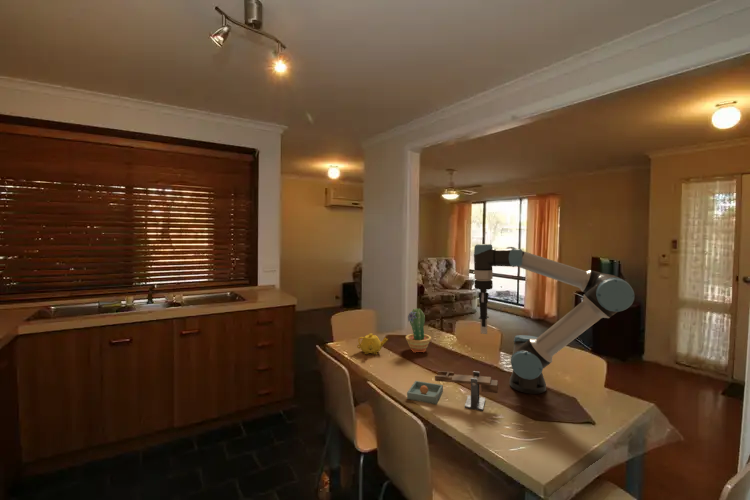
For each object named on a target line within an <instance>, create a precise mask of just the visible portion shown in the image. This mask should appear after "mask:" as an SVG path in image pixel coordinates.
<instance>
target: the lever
mask: <svg viewBox="0 0 750 500" xmlns="http://www.w3.org/2000/svg"><path fill="white" fill-rule="evenodd" d="M471 378H476V379H477V384H479V386H480V388H481V389H480V390H481V392H482V393H483V392H484V393H492V394H498V392H499V379H498V380H497V379H492V376H484V375H483V376H482V375H480V376H476V375H475V376H473V375H471V374H470V375H469V374H456V373H455V371H445V370H438V371H437V374H436V375H434V382H442V383H444V382H445V383H453V384H454V383H457V384H458V383H459V384H470V385H471Z"/></svg>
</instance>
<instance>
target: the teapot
mask: <svg viewBox="0 0 750 500" xmlns="http://www.w3.org/2000/svg"><path fill="white" fill-rule="evenodd" d="M361 339H362V340H361ZM388 339H389V338H387V337H383V339H382V340H380V339H379V337H378V336H377V335H376V334H374V333H368V334H367V335H364V337H363V336H360V337H359V338H358V340H357V341H358V344H357V345H356V348H358V349H360V350H361V351H362V352H363V353H364V355H365V354H368V355H369V354H373V355H374V354H375V356H376V354H377V355H378V352H380V351H381V350H382V347H383V346H384V344H386V343H387V341H388ZM360 341H361V342H360Z"/></svg>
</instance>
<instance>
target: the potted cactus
mask: <svg viewBox="0 0 750 500" xmlns="http://www.w3.org/2000/svg"><path fill="white" fill-rule="evenodd" d="M407 320H408V321H407V322H409V324H410V325H411V326H410V327H411V329H412V333H409V334H407V335H405V341H407V343H408V347H409V348H410V351H411V350H412V351H413V353H416V352H423V353H425V352H427V348H428V347H429V344H430V342H431V341H432V336H430V335H428V334H426V333H425V330H424V328H425V327H424V326H425V322H426V316H425V313H424V312H423V310H422V309H421V308H413V309H412V310H411V311H410V312H409V313H408V314H407ZM412 351H411V352H412Z"/></svg>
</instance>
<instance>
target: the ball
mask: <svg viewBox="0 0 750 500" xmlns="http://www.w3.org/2000/svg"><path fill="white" fill-rule="evenodd" d="M420 392H421V393H422V394H426V393H427V392H428V388H427V386H425V385H423V386H421V387H420Z"/></svg>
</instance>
